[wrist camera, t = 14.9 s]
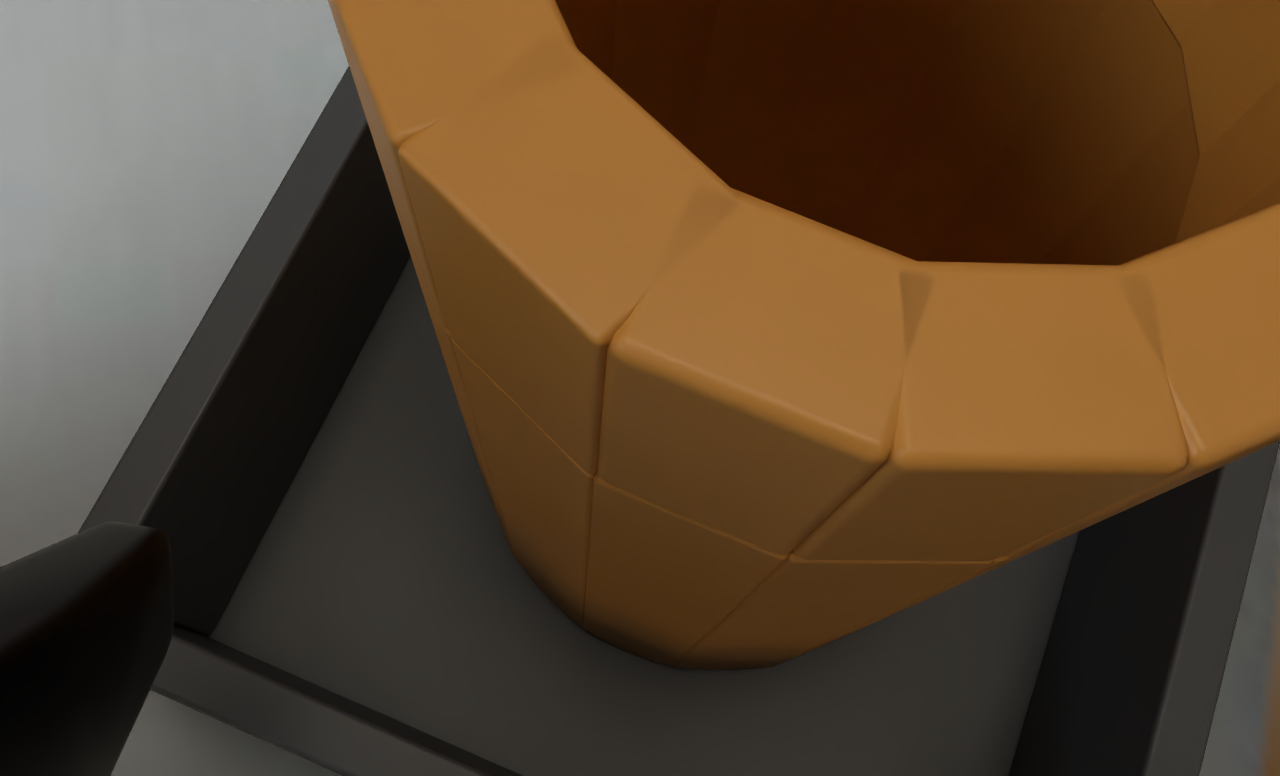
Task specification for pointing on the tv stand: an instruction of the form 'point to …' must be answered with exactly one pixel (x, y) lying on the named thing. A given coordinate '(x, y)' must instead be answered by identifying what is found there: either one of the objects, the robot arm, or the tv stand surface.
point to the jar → (829, 285)
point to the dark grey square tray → (541, 632)
